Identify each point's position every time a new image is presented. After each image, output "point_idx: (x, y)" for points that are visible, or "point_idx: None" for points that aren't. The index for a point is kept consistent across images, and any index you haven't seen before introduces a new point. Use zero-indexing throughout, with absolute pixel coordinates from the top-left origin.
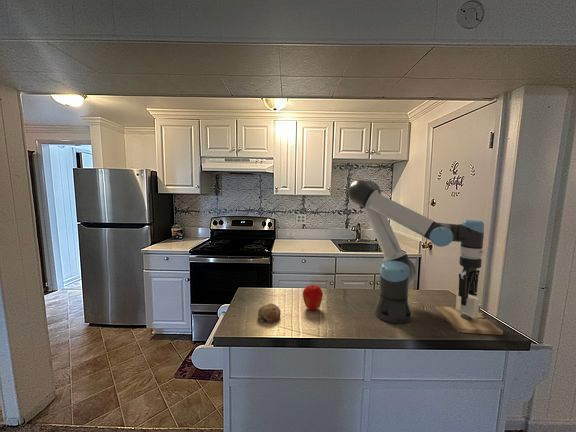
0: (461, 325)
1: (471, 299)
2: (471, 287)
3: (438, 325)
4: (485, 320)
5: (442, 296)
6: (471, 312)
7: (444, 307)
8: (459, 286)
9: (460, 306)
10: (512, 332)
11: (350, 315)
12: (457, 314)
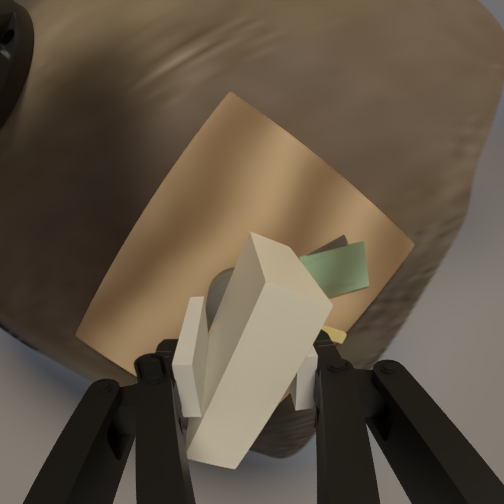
0: (112, 330)
1: (192, 432)
2: (319, 457)
3: (48, 241)
4: None
5: (454, 49)
6: None
7: (267, 136)
8: (50, 464)
9: (185, 314)
10: (308, 424)
11: None
12: (233, 246)
